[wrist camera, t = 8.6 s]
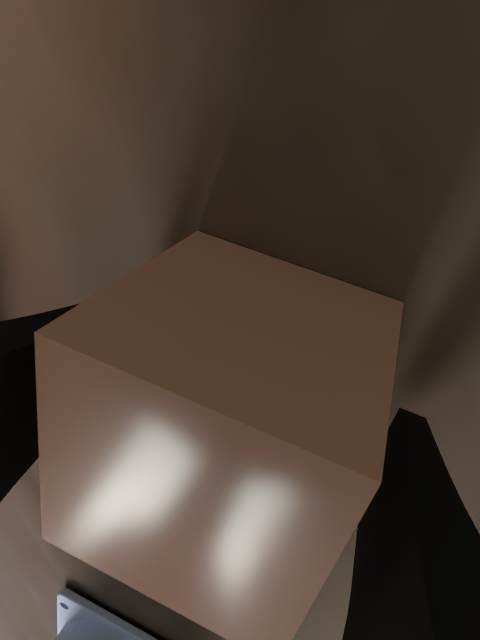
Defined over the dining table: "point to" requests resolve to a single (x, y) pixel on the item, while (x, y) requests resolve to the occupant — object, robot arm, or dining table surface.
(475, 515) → the dining table surface
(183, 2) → the dining table surface
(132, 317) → the tan cardboard cube
